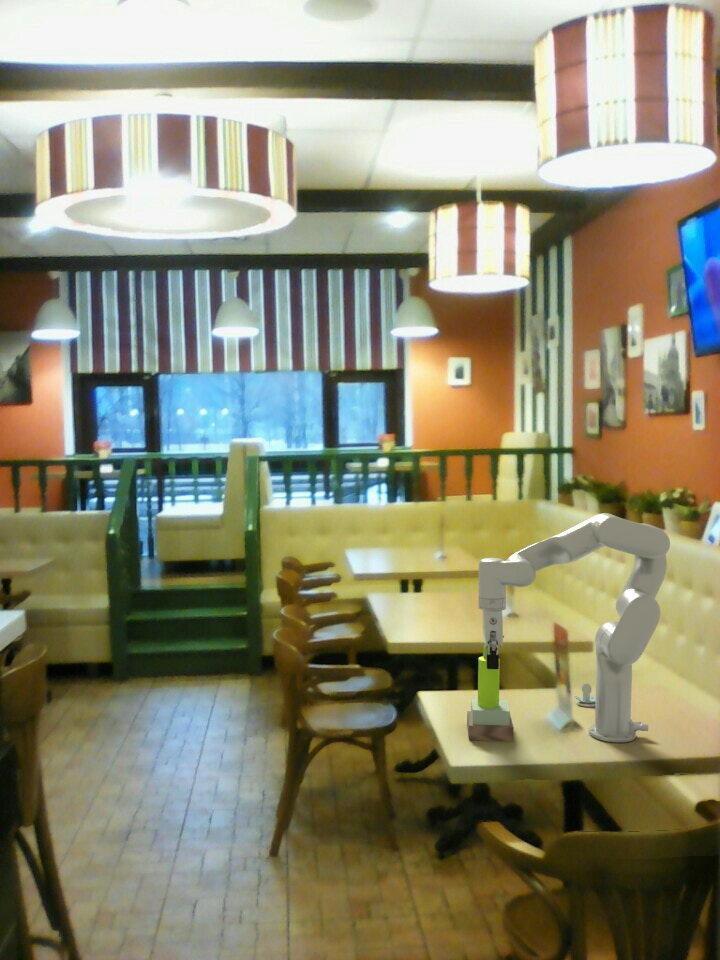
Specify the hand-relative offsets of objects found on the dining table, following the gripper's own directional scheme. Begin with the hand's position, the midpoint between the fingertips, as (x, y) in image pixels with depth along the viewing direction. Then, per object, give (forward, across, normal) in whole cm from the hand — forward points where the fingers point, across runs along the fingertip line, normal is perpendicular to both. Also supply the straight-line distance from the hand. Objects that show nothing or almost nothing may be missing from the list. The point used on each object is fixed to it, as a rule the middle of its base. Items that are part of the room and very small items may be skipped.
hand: (491, 663), depth 243 cm
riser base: (+20, 0, 0) cm, 20 cm away
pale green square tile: (+16, 0, 0) cm, 16 cm away
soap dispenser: (+12, 0, 0) cm, 12 cm away
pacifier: (+20, +29, -31) cm, 47 cm away
